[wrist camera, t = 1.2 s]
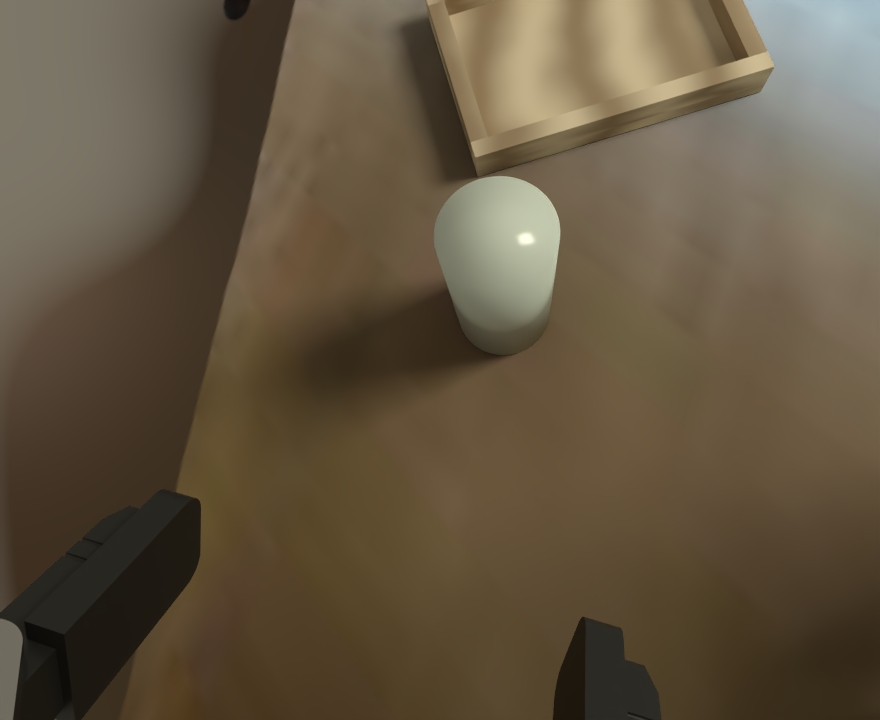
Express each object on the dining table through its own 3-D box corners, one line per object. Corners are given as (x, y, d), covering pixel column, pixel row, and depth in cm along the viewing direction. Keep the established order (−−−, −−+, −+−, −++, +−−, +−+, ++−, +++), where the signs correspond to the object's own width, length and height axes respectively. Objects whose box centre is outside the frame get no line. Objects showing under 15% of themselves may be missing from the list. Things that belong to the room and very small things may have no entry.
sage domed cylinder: (534, 257, 42) (539, 160, 30) (561, 340, 40) (576, 271, 29) (448, 283, 42) (420, 196, 31) (471, 366, 41) (451, 307, 29)
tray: (688, -64, 46) (697, -96, 44) (760, 91, 43) (774, 66, 40) (428, 19, 48) (423, -8, 45) (477, 177, 44) (475, 157, 42)
